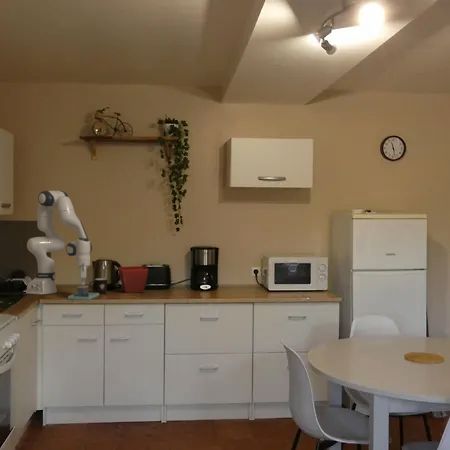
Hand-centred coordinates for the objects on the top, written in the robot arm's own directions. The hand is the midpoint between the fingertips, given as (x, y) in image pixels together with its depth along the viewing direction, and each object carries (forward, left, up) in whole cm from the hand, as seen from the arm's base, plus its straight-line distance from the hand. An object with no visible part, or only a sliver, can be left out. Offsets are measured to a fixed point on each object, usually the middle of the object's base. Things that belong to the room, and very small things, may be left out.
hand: (83, 283), depth 374 cm
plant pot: (+24, +31, -10) cm, 40 cm away
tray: (+1, 0, -10) cm, 10 cm away
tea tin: (+1, -1, -9) cm, 9 cm away
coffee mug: (+4, +18, -10) cm, 21 cm away
